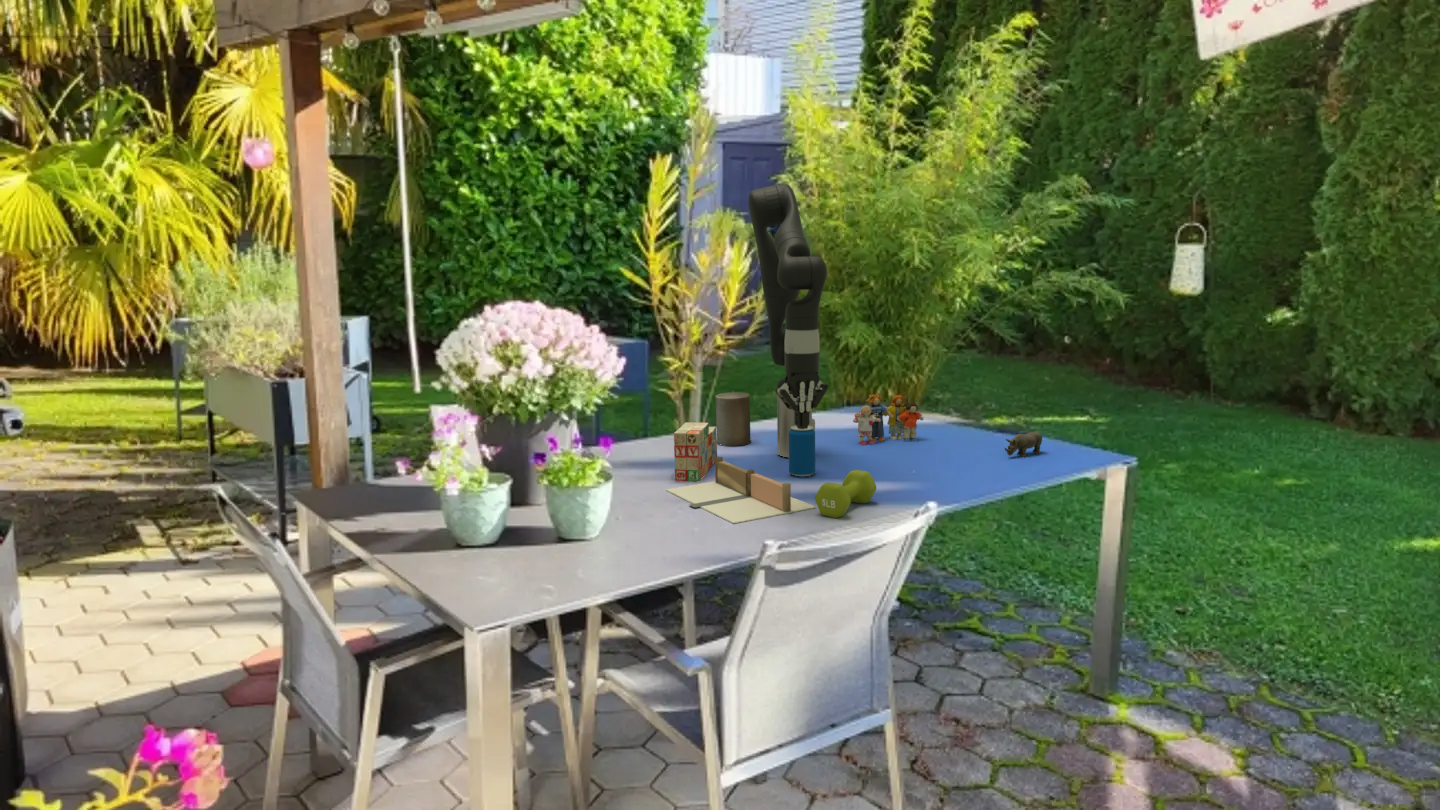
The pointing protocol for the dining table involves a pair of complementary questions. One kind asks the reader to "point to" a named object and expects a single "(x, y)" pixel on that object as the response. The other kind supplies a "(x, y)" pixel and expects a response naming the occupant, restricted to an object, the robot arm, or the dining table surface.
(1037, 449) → the rhino figurine
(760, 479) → the gate
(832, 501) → the dumbbell
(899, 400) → the doll family
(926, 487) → the dining table surface
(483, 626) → the dining table surface
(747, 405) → the pillar candle
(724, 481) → the wooden fence panel
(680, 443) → the stack of blocks
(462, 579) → the dining table surface
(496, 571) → the dining table surface
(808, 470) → the beverage can
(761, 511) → the card
